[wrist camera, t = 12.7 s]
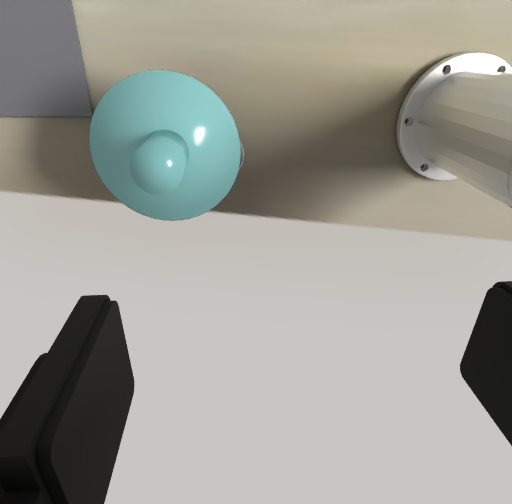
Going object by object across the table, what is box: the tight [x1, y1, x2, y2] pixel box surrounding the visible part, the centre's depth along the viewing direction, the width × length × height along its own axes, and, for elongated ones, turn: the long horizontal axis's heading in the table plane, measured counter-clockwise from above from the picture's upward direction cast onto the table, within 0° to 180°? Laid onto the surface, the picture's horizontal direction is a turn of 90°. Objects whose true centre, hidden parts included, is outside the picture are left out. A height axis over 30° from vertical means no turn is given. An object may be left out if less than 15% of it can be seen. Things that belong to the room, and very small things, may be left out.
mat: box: [0, 0, 93, 117], centre depth 33 cm, size 12×12×1 cm
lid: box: [89, 70, 241, 221], centre depth 29 cm, size 12×12×6 cm
